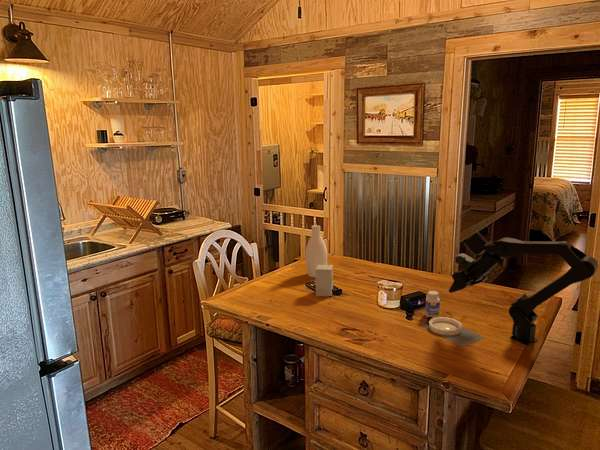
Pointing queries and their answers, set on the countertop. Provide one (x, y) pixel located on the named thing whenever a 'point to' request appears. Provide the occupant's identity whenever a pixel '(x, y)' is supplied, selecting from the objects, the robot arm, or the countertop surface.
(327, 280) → the supplement box
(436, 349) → the countertop surface
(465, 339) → the placemat
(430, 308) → the pill bottle
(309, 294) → the countertop surface
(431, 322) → the dish
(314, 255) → the bottle
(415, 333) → the countertop surface
